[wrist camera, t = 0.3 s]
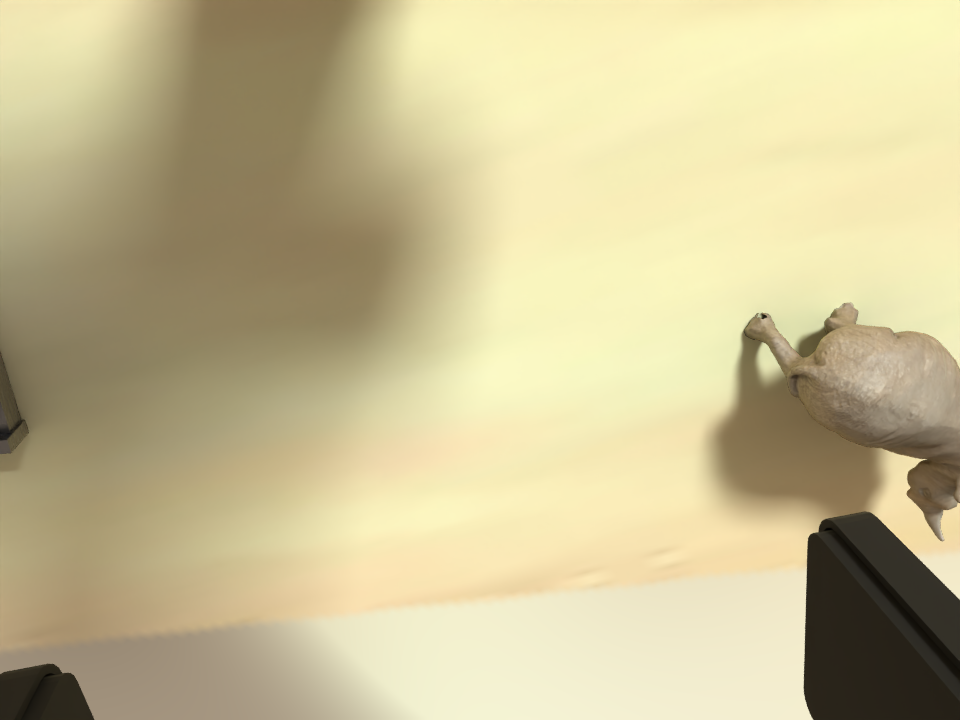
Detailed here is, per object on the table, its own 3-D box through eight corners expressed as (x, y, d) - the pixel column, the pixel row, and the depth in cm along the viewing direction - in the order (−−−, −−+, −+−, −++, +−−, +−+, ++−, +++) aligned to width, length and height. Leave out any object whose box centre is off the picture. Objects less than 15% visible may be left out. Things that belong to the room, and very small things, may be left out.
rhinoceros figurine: (827, 219, 44) (1057, 427, 36) (871, 292, 55) (1056, 464, 47) (716, 316, 47) (911, 532, 39) (780, 368, 57) (942, 545, 50)
